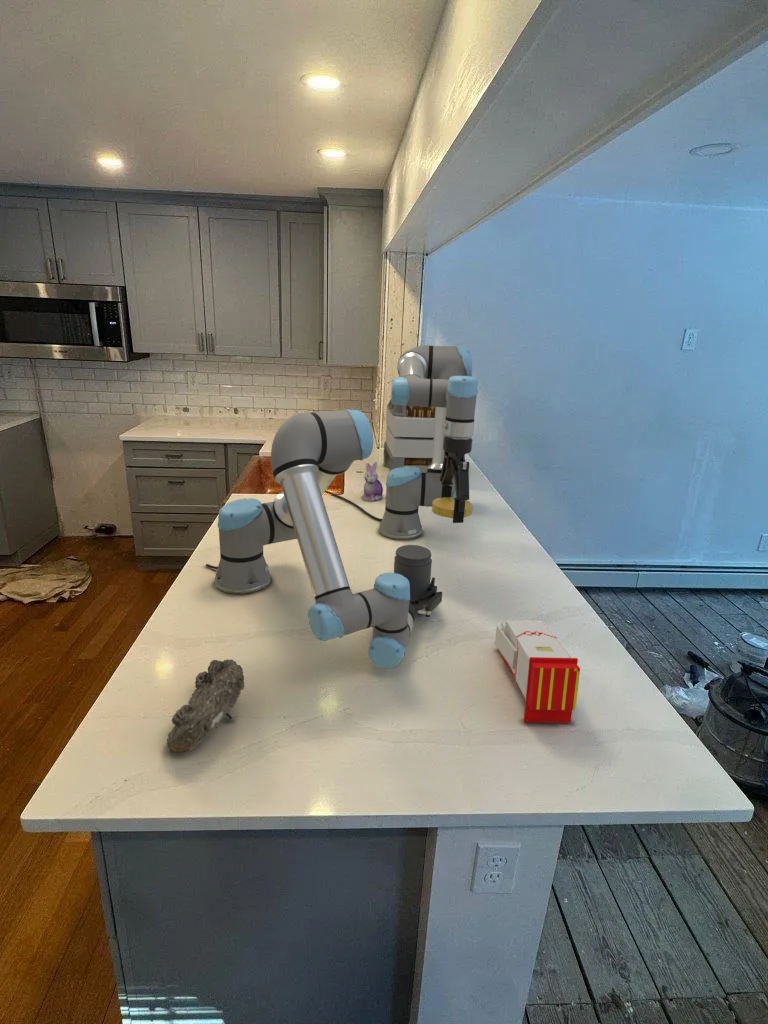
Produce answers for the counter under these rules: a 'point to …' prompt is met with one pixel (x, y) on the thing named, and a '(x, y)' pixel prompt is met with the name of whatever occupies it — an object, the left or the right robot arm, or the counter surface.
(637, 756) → the counter surface
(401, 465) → the grey slatted crate
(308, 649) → the counter surface
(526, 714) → the toy
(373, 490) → the figurine
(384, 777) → the counter surface
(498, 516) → the counter surface
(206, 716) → the fossil
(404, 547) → the jar
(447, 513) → the lid
